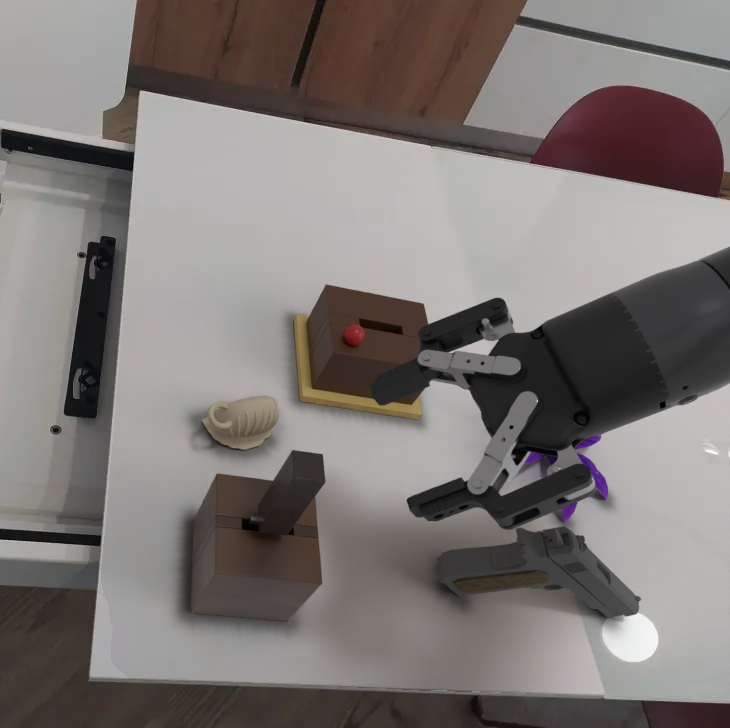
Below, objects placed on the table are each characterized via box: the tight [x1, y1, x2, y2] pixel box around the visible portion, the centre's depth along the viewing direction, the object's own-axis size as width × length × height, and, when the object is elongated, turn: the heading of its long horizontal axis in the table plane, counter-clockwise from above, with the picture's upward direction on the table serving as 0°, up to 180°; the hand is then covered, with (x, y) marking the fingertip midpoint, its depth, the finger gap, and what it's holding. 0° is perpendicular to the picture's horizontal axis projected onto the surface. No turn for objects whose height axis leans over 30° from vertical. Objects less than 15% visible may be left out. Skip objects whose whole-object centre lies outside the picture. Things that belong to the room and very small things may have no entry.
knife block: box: [190, 473, 323, 622], centre depth 58 cm, size 8×8×8 cm
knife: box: [243, 449, 326, 535], centre depth 55 cm, size 3×2×17 cm
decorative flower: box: [513, 433, 609, 523], centre depth 75 cm, size 14×15×7 cm
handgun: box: [436, 525, 642, 618], centre depth 65 cm, size 3×18×12 cm
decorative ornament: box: [201, 395, 280, 451], centre depth 67 cm, size 4×8×5 cm, turn 110°
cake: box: [293, 283, 432, 421], centre depth 75 cm, size 13×11×9 cm
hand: (391, 450), depth 49 cm, fingers open, 8 cm apart
